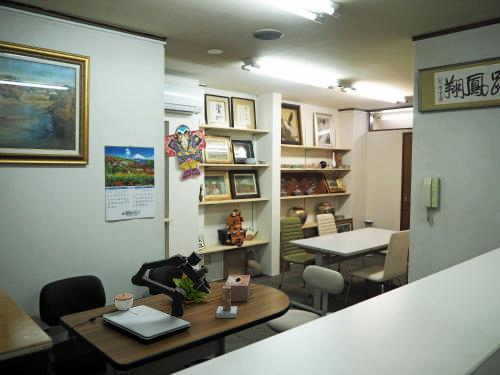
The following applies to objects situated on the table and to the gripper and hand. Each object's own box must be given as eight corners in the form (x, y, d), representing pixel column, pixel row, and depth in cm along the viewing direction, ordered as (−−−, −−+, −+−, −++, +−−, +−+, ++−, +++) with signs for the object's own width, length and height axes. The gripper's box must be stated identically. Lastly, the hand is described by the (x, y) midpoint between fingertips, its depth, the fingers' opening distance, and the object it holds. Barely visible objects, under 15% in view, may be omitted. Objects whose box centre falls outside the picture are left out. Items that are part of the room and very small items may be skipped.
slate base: (216, 317, 226) (216, 313, 226) (218, 310, 237) (218, 306, 237) (235, 317, 225) (235, 313, 225) (237, 310, 236) (237, 306, 236)
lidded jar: (127, 312, 234) (127, 296, 234) (111, 311, 236) (110, 295, 236) (136, 306, 245) (136, 291, 244) (120, 305, 247) (120, 290, 247)
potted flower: (179, 310, 238) (179, 280, 237) (160, 300, 256) (160, 272, 256) (214, 301, 254) (214, 273, 253) (194, 292, 272) (194, 266, 271)
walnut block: (222, 311, 229) (222, 288, 228) (223, 308, 233) (222, 286, 233) (230, 311, 229) (230, 288, 228) (230, 308, 233) (230, 285, 233)
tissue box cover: (229, 289, 280) (229, 274, 280) (250, 289, 279) (250, 274, 279) (225, 301, 254) (224, 285, 254) (247, 301, 254) (247, 285, 253)
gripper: (198, 265, 220) (218, 285, 221) (201, 258, 238) (220, 276, 239) (184, 280, 220) (204, 300, 221) (188, 271, 238) (207, 289, 239)
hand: (209, 290), depth 230 cm, fingers open, 9 cm apart
